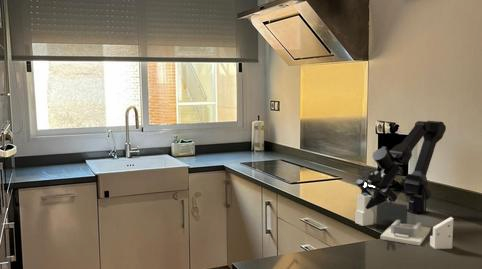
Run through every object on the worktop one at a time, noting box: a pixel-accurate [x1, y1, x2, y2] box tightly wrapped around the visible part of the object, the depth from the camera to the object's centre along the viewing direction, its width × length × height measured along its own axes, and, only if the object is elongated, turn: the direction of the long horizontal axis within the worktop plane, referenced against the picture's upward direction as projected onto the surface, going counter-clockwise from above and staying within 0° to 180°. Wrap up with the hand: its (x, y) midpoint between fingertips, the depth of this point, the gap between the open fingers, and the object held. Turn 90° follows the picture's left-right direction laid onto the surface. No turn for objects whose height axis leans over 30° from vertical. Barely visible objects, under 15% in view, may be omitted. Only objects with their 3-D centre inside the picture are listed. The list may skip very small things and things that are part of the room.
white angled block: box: [429, 216, 454, 250], centre depth 158 cm, size 4×10×9 cm, turn 92°
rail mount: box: [379, 218, 431, 247], centre depth 171 cm, size 18×13×4 cm
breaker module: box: [354, 193, 375, 227], centre depth 184 cm, size 5×4×12 cm
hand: (362, 206), depth 183 cm, fingers closed on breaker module, 4 cm apart
